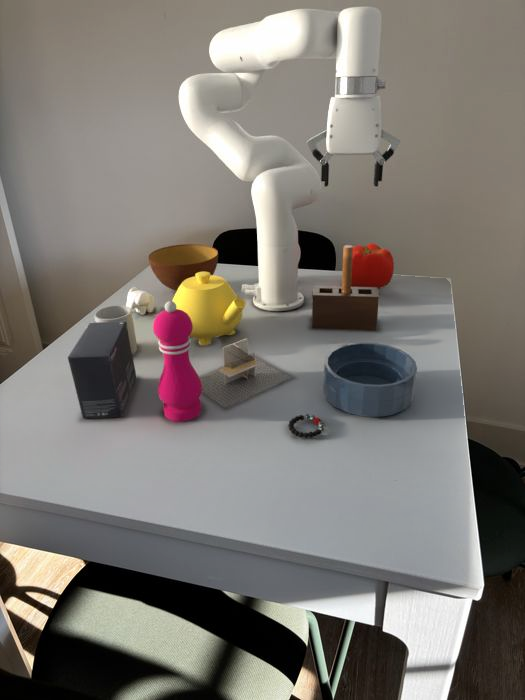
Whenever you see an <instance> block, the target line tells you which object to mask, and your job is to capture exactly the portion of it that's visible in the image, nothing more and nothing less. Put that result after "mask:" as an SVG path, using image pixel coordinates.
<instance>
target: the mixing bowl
mask: <svg viewBox="0 0 525 700" xmlns="http://www.w3.org/2000/svg"><path fill="white" fill-rule="evenodd" d="M323 365H324V367H323V371H324V372H323V395H324V396H325V398H326V400H327V402H329V403H330V404H332V405H333V406H334V407H335V408H337V409H339V410H341V411H344V412H346V413H348V414H353V415H356V416H361V417H375V418H379V417H386V416H387V417H388V416H393V415H395V414H398V413H400V412H403V411H404V410H406V409H407V408H408V407H409V406H411V404H412V401H413V399H414V397H415V395H414V394H415V390H416V389H415V388H416V381H417V373H418V372H417V371H418V366H417V363H416V360H415V359H414V358H413V357H412V356H411V355H410V354H409V353H408V352H405V351H403V350H402V349H400V348H397V347H394V346H392V345H389V344H384V343H378V342H366V341H365V342H364V341H363V342H362V341H361V342H352V343H346V344H343V345H339V346H337V347H334V349H331V350H329V351H328V353H327V354H326V356H325V357H324V364H323Z"/></svg>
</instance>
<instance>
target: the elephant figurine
mask: <svg viewBox="0 0 525 700" xmlns="http://www.w3.org/2000/svg"><path fill="white" fill-rule="evenodd" d="M154 296H156V293H154V295H152V294H151V293H148V292H147V291H145V290H143V289H138V288H137V287H136V286H133V287H131V288H130V290H129V291H128V293H127V298H126V304H125V306H128V307H129V308H131V311H132V314H133V313H134V312H136V313H139V314H140V315H142V316H143V315H145V314H146V313H153V312H154V308H155V297H154Z"/></svg>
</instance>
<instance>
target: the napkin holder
mask: <svg viewBox="0 0 525 700" xmlns="http://www.w3.org/2000/svg"><path fill="white" fill-rule="evenodd" d="M257 359H258V358H257V357H256V356H255V352H253V353H249V340H248V338H247V337H246V338H244V339H241V340H238V341H236V342H233V343H230V344H227V345H225V346H223V347H222V360H223V366H222V367H219V368H218V371H219V372H221V373H223V376H224V383H225V384H227V383H230V382H232V381H234V380H237V379H239V378H241V377H243V378H245V379H247V380H248V379H249V374H250V375H252V376H253V377H256V376H257V375H256V367H257V366H259V365H260V362H259V361H257Z"/></svg>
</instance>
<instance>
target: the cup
mask: <svg viewBox="0 0 525 700" xmlns="http://www.w3.org/2000/svg"><path fill="white" fill-rule="evenodd" d="M131 310H132V309H131V308H129V307H128V306H126V305H123V304H115V305H113V304H112V305H108V306H104V307H101V308H99V309H97V310H96V311H95V312H94V314H93V316H94V321H92V322H90V323H95V322H116V321H126V322H127V329H128V335H129V341H130V347H131V352H132V356H133V355H134V354H136V351H137V350H138V344H137V343H138V342H137V337H136V332H135V324H134V318H133V313H132V311H131ZM86 328H87V326H86V327H85V329H86Z"/></svg>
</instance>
